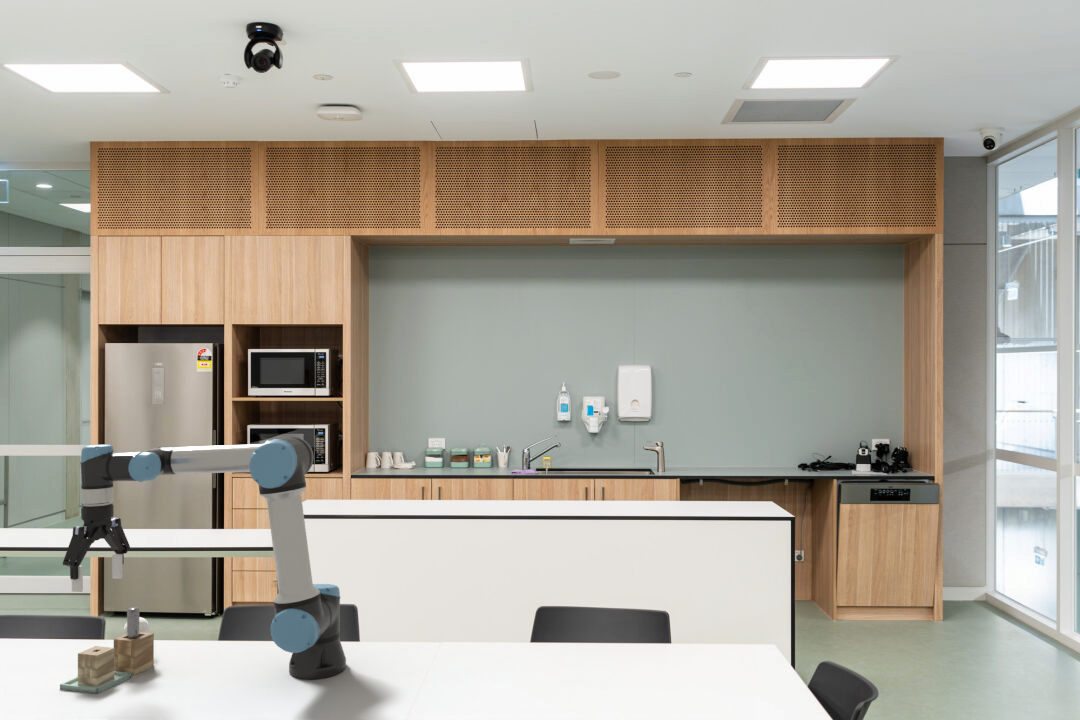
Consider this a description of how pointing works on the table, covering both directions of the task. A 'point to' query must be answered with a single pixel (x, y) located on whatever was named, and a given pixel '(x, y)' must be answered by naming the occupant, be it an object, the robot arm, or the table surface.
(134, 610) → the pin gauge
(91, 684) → the narrow-bore block
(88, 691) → the tray
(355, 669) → the table surface
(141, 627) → the light bulb
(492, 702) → the table surface
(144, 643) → the wide-bore block
